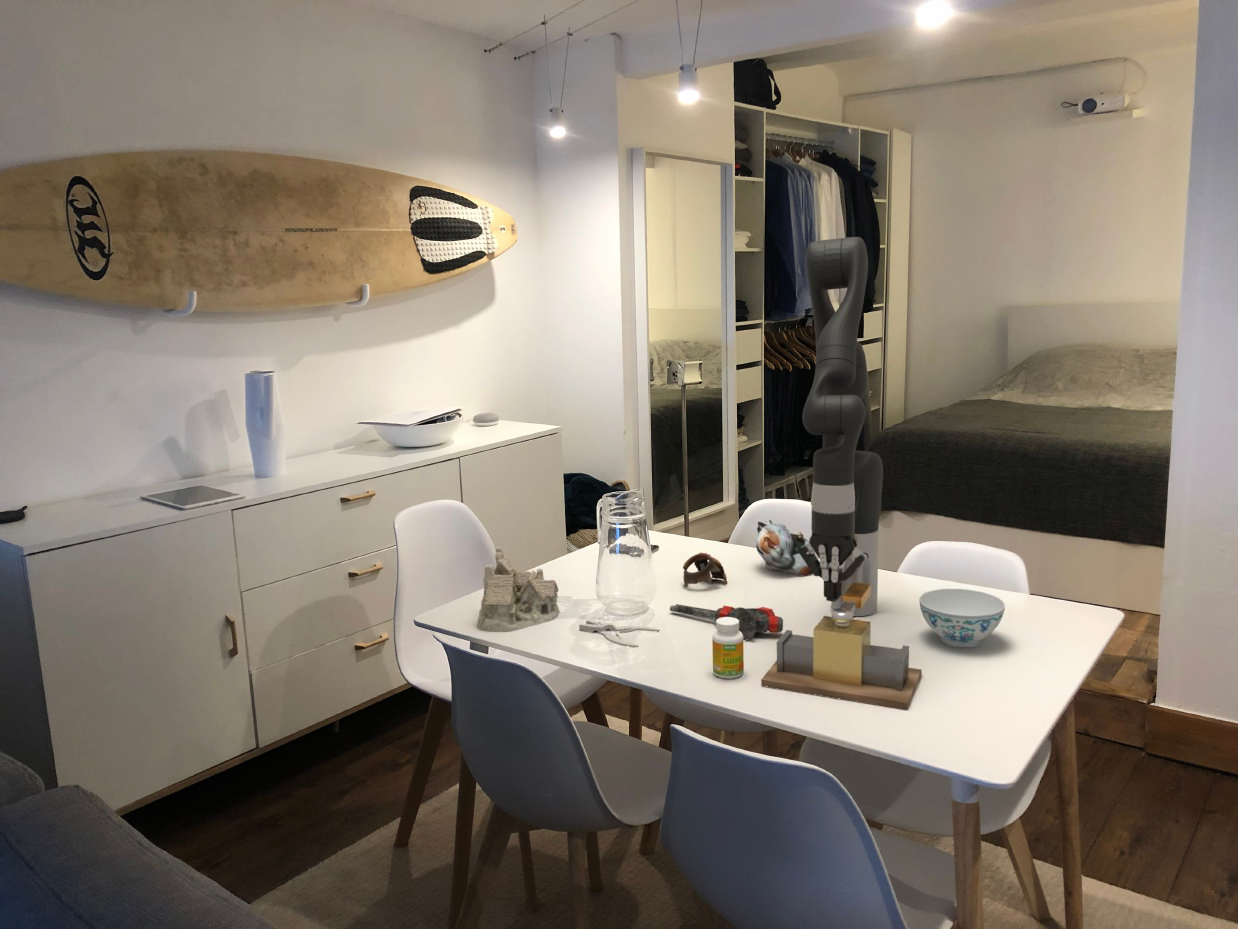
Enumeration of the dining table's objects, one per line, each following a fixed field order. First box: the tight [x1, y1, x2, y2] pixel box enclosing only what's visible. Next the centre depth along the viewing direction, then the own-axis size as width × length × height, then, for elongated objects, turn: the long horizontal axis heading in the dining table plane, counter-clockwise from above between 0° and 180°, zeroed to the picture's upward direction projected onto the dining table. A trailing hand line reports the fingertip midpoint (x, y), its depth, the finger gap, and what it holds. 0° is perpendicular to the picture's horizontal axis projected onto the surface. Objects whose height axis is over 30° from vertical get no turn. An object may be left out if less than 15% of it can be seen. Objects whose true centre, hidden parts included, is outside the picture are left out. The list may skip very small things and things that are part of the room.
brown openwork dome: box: [682, 552, 728, 587], centre depth 215 cm, size 12×10×8 cm
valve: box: [669, 603, 784, 641], centre depth 190 cm, size 6×26×15 cm
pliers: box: [578, 619, 661, 648], centre depth 186 cm, size 10×2×15 cm
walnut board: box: [760, 660, 923, 711], centre depth 161 cm, size 14×24×1 cm, turn 64°
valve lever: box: [830, 582, 871, 622], centre depth 164 cm, size 17×4×2 cm, turn 154°
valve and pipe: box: [776, 615, 910, 691], centre depth 160 cm, size 7×21×10 cm, turn 64°
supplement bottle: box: [711, 617, 745, 680], centre depth 165 cm, size 5×5×10 cm
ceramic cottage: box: [476, 546, 561, 633], centre depth 196 cm, size 16×16×15 cm
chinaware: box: [918, 588, 1006, 648], centre depth 176 cm, size 15×15×8 cm
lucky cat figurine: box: [755, 519, 816, 577], centre depth 222 cm, size 15×12×14 cm
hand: (832, 600), depth 170 cm, fingers closed
